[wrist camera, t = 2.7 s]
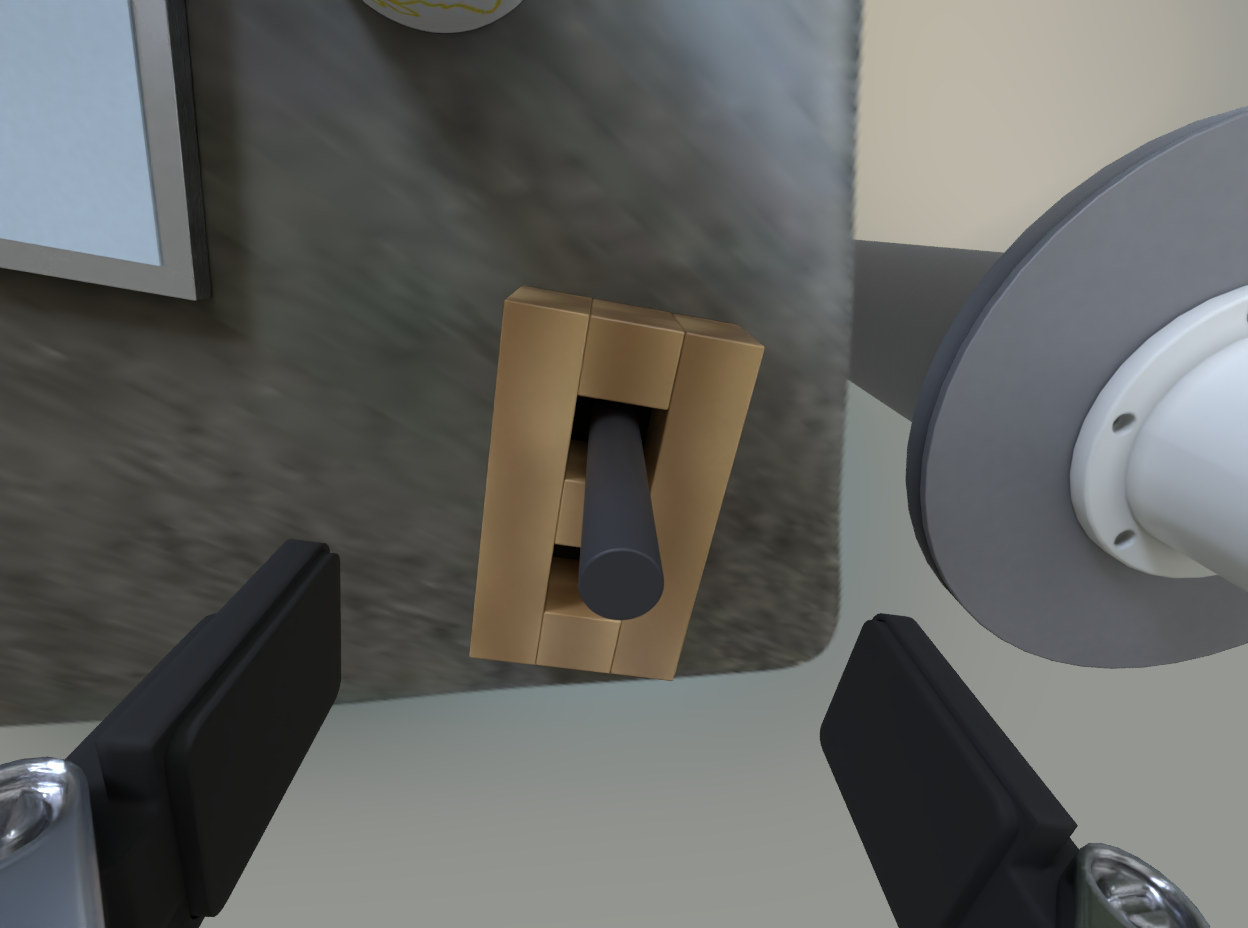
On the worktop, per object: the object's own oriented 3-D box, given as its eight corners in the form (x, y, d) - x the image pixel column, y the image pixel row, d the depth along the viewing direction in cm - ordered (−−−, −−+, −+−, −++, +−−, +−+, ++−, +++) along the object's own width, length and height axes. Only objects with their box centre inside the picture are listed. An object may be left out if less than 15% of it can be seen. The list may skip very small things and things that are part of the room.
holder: (738, 325, 22) (765, 346, 18) (664, 618, 27) (673, 681, 23) (521, 285, 21) (504, 299, 17) (487, 596, 26) (469, 657, 23)
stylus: (639, 391, 23) (672, 555, 12) (631, 434, 23) (655, 626, 12) (594, 384, 23) (584, 543, 12) (587, 427, 23) (572, 616, 12)
